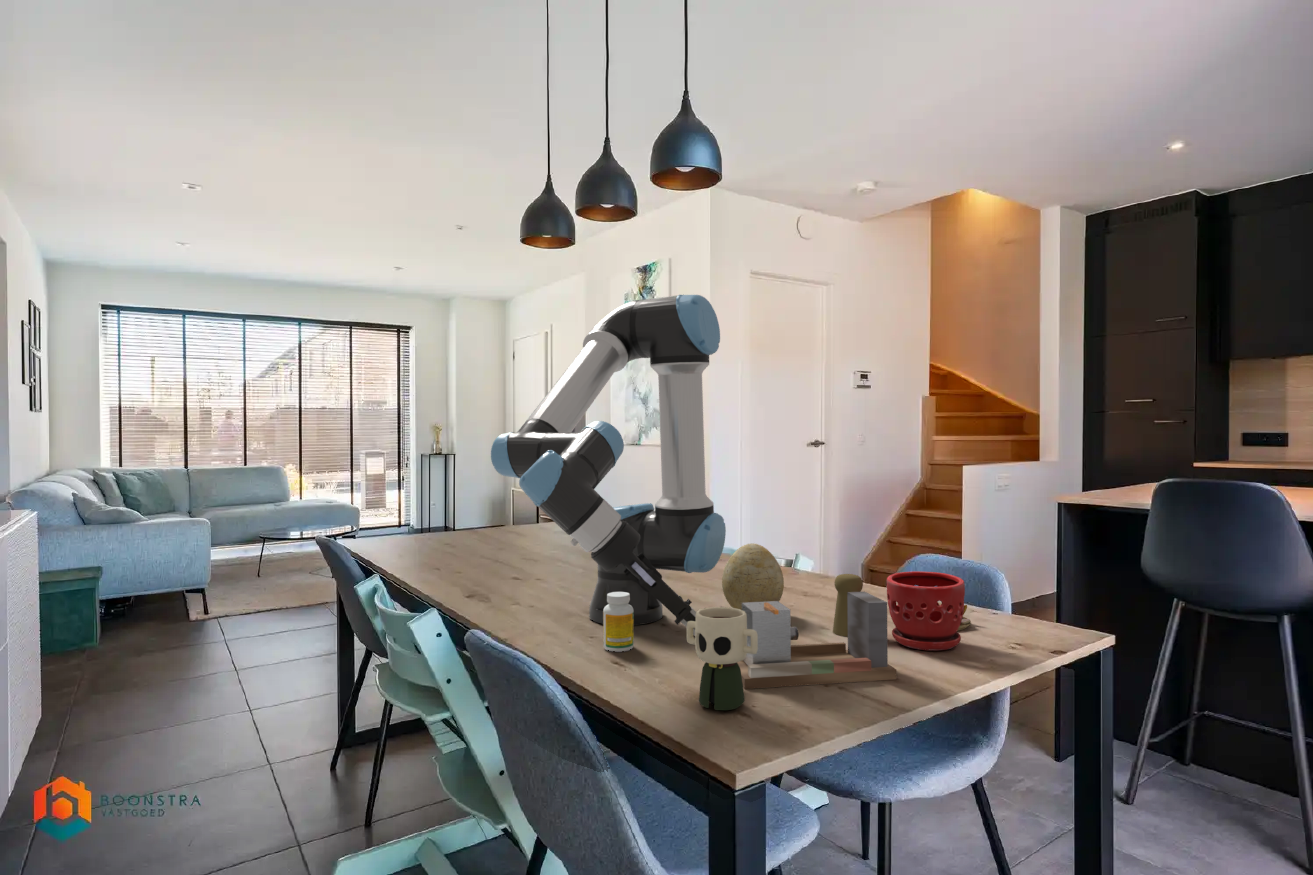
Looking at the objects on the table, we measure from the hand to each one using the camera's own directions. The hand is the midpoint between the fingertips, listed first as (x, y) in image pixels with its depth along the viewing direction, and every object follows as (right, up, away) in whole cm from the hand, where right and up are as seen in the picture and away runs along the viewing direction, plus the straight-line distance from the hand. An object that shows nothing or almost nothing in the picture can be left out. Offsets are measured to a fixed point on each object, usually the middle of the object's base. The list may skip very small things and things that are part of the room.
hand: (714, 641), depth 114 cm
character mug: (0, -6, -11) cm, 13 cm away
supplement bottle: (-16, -6, +17) cm, 24 cm away
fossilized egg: (+11, -6, +39) cm, 41 cm away
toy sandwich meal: (+46, -6, +32) cm, 56 cm away
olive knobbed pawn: (+27, -6, +26) cm, 38 cm away
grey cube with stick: (+9, -4, +1) cm, 10 cm away
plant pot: (+39, -6, +18) cm, 43 cm away
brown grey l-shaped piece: (+15, -6, +3) cm, 16 cm away
